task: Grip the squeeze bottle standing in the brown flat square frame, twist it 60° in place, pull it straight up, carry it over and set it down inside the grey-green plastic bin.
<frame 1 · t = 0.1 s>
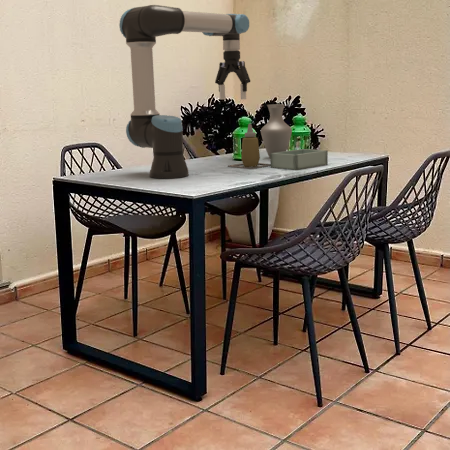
hand: (232, 99, 287), 28 cm above the table, fingers open, 13 cm apart
brown flat square frame: (250, 166, 274), on the table
squeeze bottle: (250, 166, 274), resting in brown flat square frame
bin: (299, 166, 270), on the table
vase: (276, 158, 300), on the table
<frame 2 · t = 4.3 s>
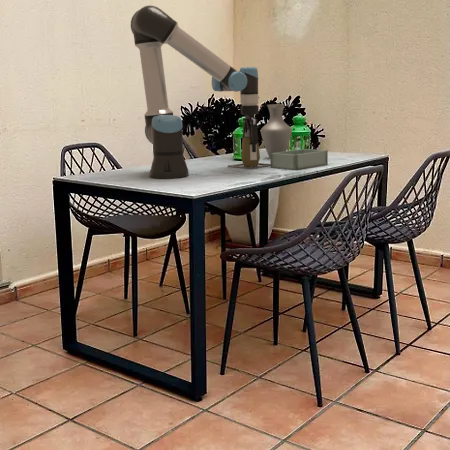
hand: (250, 158, 273), 3 cm above the table, fingers closed on squeeze bottle, 8 cm apart
squeeze bottle: (250, 166, 274), resting in brown flat square frame, touching gripper
everything else where it was.
when the fingers open (6 cm above the table, at t = 13.2 s): squeeze bottle drops 2 cm, resting on bin.
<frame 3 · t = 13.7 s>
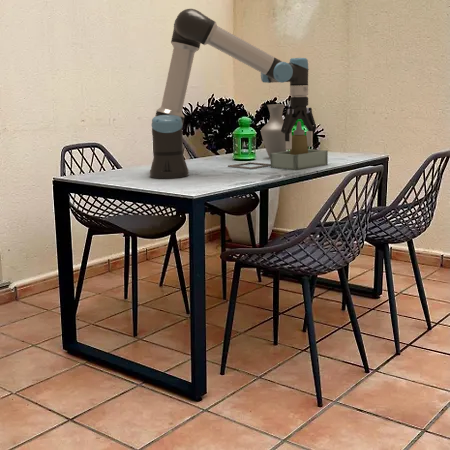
hand: (299, 147, 268), 8 cm above the table, fingers open, 13 cm apart
squeeze bottle: (299, 164, 270), point 1 cm above the table, touching bin
everything else where it was.
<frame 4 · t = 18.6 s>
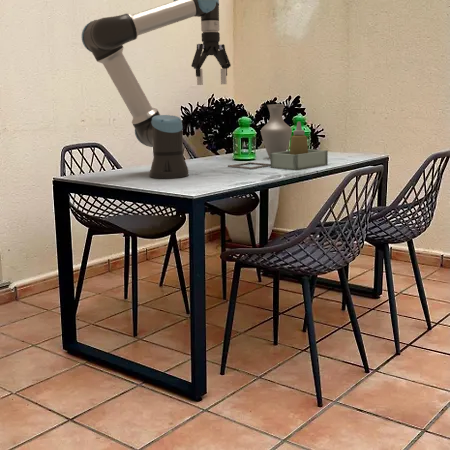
hand: (212, 84, 268), 35 cm above the table, fingers open, 13 cm apart
nothing on the table moved.
at the end: squeeze bottle inside the target area on the bin (0.1 cm from its centre), point 0.4 cm above the bin's base; squeeze bottle tilted 0°; the gripper is holding nothing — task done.
